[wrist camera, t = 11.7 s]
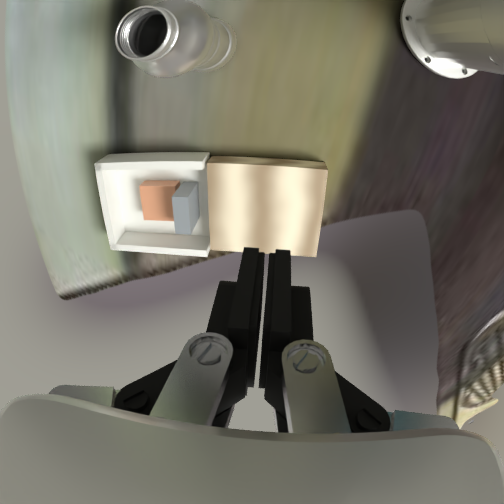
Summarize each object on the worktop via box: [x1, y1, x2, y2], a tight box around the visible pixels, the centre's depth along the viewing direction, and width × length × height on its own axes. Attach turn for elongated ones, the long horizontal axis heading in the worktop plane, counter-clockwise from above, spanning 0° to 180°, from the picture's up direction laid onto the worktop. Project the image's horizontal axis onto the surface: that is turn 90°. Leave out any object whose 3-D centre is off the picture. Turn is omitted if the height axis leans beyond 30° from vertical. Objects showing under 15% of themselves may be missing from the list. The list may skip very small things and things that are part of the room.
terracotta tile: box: [139, 180, 180, 221], centre depth 41 cm, size 5×5×2 cm
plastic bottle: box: [115, 0, 237, 78], centre depth 23 cm, size 6×7×20 cm
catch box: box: [94, 152, 210, 257], centre depth 41 cm, size 14×13×4 cm
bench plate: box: [207, 156, 328, 257], centre depth 41 cm, size 14×12×3 cm
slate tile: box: [172, 181, 200, 235], centre depth 40 cm, size 5×5×2 cm
